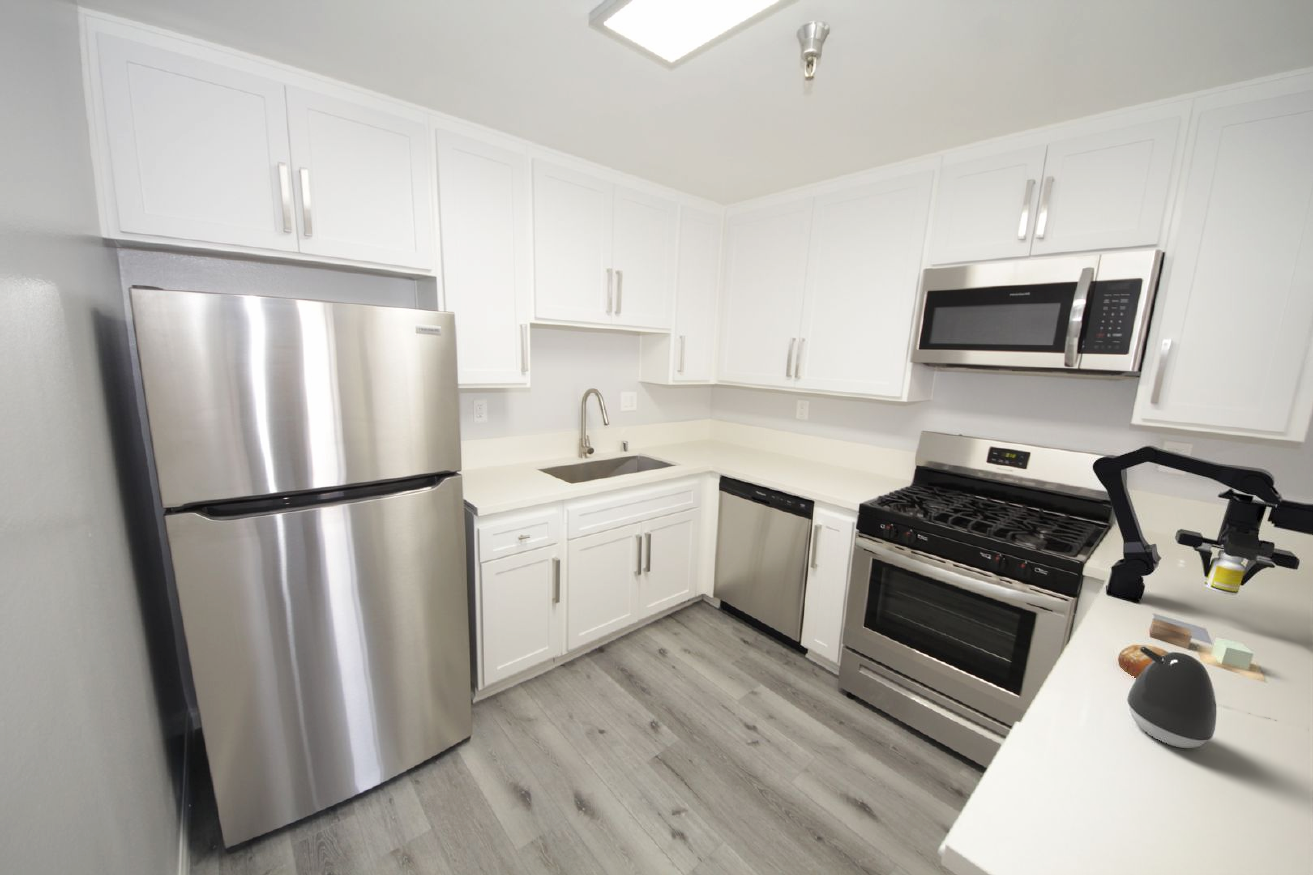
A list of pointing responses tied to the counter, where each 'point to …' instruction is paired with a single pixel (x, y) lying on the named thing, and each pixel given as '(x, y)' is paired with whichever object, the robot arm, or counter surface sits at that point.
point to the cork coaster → (1210, 659)
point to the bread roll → (1136, 659)
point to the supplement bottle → (1225, 574)
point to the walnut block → (1170, 633)
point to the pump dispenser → (1174, 700)
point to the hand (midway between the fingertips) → (1223, 580)
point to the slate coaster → (1196, 631)
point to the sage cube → (1232, 654)
